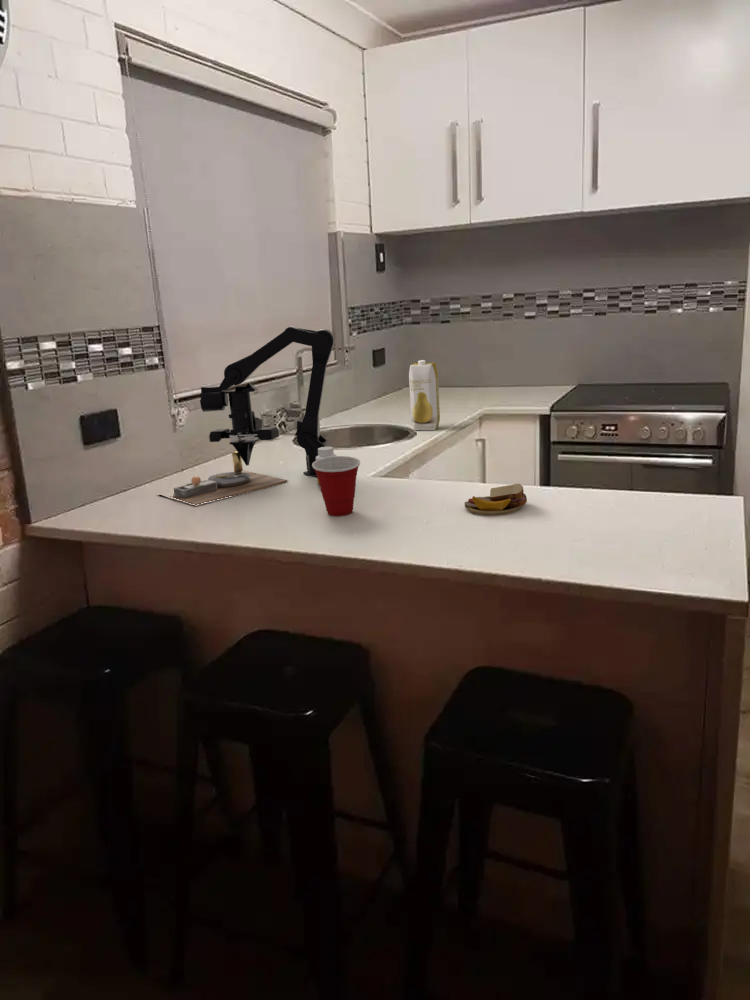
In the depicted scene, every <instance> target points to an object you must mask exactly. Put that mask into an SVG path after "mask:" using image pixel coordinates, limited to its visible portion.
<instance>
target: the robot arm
mask: <svg viewBox="0 0 750 1000" xmlns="http://www.w3.org/2000/svg"><path fill="white" fill-rule="evenodd" d="M335 337H336V336H335V334H334V333H333V332H332V331H331V330H329V329H327V328H322V329H319V330H313V329H306V328H301V327H297V326H294V325H293V326H291V325H290V326H288V327H286V328H285V329H284V330H283V332H281V333H279V334H278V335H277V336H275V337H274V338H273V339H271V340H269V342H267V343H266V344H264V345H263V346H261V347H259V348H258V349H256V351H254V352H253V353H251V354H250V355H247V356H246V357H243V358H242V359H239V360H237V361H234V362H233V363H230V364H228V365H227V366H226V367H225V369H224V371H223V376H224V378H223V379H222V380H221V382H220V383H219V385H217V386H201V387H200V390H201V391H200V400H199V403H200V408H201V411H202V412H203V413H206V412H219V411H222V412H223V411H225V409H226V407H228V406H229V410H230V414H228V418H229V419H230V420H231V426H232V428H231V429H229V428H219V429H215V430H211V431H210V433H209V435H208V439H209V442H210V443H216V442H217V443H218V442H220V441H222V439H230V441H229V442H228V443H229V445H232V446H233V447H234V449H235V451H238V453H239V454H240V456H241V459H242V462H243V463H244V464H245V466H249V465H250V461H251V456H252V452H253V449H254V446H255V444H256V443H257V442H259V441H271V440H275V439H276V438H278V437H280V432H279V431H280V430H279V429H278V428H277V427H276V426H265V427H263V419H261V418H259V417H257V416H255V415H256V414H255V411H254V410H252V400H251V394H250V393H253V392H256V391H257V390H258V389H257V387H256V386H254V385H253V384H252V383H251V382H248V383H247V384H246V385H241V384H243V383H244V382H246V381H247V380H248V379H249V377H251V376H252V375H253V374H254V372H255V371H256V370H257V369H258V368H260V366H261V365H263V364H264V363H265V362H267V361H268V360H269V359H271V358H273V357H274V356H276V354H278V353H280V352H281V351H282V350H284V349H285V348H287V347H288V346H290V345H291V344H293V343H295V344H300V345H303V346H307V347H308V346H309V347H311V357H312V359H311V360H312V367H311V372H310V373H311V374H310V380H309V386H308V393H307V399H306V404H305V411H304V412H305V413H304V416H303V417H299V418H298V419H297V421H296V432H295V434H294V437H296V442H297V444H298V445H299V446H300V447H301V448H302V449H304V451H305V461H306V470H307V471H303V473H302V474H303V475H307V476H311V477H315V478H317V474H316V472H315V470H314V468H313V467H312V463H313V462H315V461H316V456H318V448H321V447H328V443H329V441H328V439H326V438H325V437H324V436H322V435H321V433H320V432H321V431H320V430H321V429H320V428H321V427H320V425H321V424H320V409H321V403H322V397H323V390H324V384H325V379H326V373H327V372H326V371H327V367H328V366H327V365H328V363H329V360H330V357H331V355H332V351H333V350H334V349H333V348H334V346H335V344H336V338H335ZM239 385H240V386H239ZM234 386H235V388H234V390H233V389H232V390H228V389H230V388H232V387H234Z"/></svg>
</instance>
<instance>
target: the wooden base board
mask: <svg viewBox="0 0 750 1000" xmlns="http://www.w3.org/2000/svg"><path fill="white" fill-rule="evenodd" d="M242 472H246V473H249V475H250V482H248V483H246V484H242V485H237V486H232V487H224V488H217V489H216V483H211V484H207V485H198V486H195V488H191V489H187V490H184V487H185V486H189V485H193V484H192V482H188V483H185V485H182V486H177V487H173V489H174V494H173V496H172V497H173V498H176V499H179V500H182V501H185V502H188V503H191V504H195V505H197V504H201V503H204V502H209V501H213V500H217V499H221V498H225V497H229V496H233V497H235V496H234V495H237V496H239V495H238V494H241V495H243V494H242V493H245V494H248V493H252V492H255V491H259V490H262V489H268V488H271V487H274V486H278V485H281V484H286V483H288V479H285V478H280V477H277V476H271V475H267V474H262V473H259V472H258V473H257V472H252V471H249V470H243V471H242ZM205 481H208V480H201V482H205ZM201 482H200V483H201ZM251 491H252V492H251ZM247 492H248V493H247ZM170 497H171V496H170Z"/></svg>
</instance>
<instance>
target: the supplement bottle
mask: <svg viewBox="0 0 750 1000" xmlns="http://www.w3.org/2000/svg"><path fill="white" fill-rule="evenodd" d="M334 451H335V450H334V447H333V446H327V447H321V448H318V456H316V460H319V459H322V458H327V457H335V456H337V454H335V453H334ZM316 478H317V477H316ZM317 485H318V488H320V484H319V480H318V478H317Z"/></svg>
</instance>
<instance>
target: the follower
mask: <svg viewBox="0 0 750 1000" xmlns="http://www.w3.org/2000/svg"><path fill="white" fill-rule="evenodd" d="M201 481H202V480H201V478H200V477H199V476H197V475H194V476H192V478H191V482H190V483H192V484H193V485H189V486H185V485H184V486H185V487H184V490H187V489H191V488H195V486H198V485H207V484H211V483H216V489H217V482H215V481H211V480H209V481H207V480H206V481H205V480H204V481H205V482H201ZM200 482H201V483H200Z"/></svg>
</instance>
